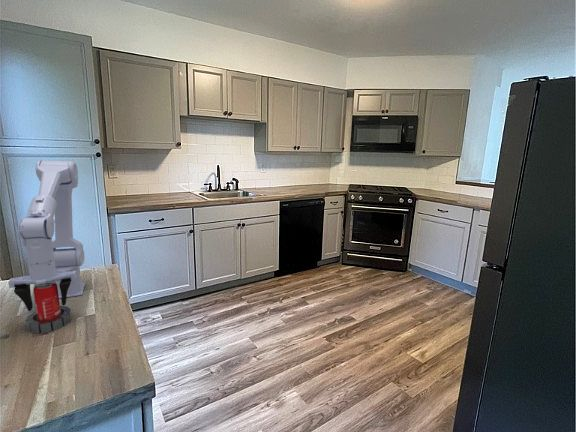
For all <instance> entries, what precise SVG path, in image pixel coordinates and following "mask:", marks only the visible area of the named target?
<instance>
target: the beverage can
mask: <svg viewBox="0 0 576 432" xmlns="http://www.w3.org/2000/svg"><path fill="white" fill-rule="evenodd" d="M32 291H33V296H34V303H35V308H36V309H35V310H36V311H37V318H38V321H39V322H43V321H49V320H53V319H55V318H58V317H60V316H61V311H60V306H61V303H60V298H59V295H58V288H57V284H56V282H55V281H52V282H46V283H43V284H34V286H33V290H32Z"/></svg>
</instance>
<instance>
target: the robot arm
mask: <svg viewBox="0 0 576 432" xmlns="http://www.w3.org/2000/svg"><path fill="white" fill-rule="evenodd" d="M35 174H36V177H37V178H38V180H39V189H38V195H36V196H33V197H32V199H31V202H30V204H29V208H28V210H27V213H26V216H25V217H24V218H23V219H21V220H20V221H19V223H18V228H17V230H18V232H17V233H18V235H19V238H20V240H21V243H22V246H23V247H25V253H26V254H25V255H26V260H27V266H28V275H23V276H18V277H17V276H16V277H12V278H10V279H9V280H8V281H7V282H8V287H9V289H11V288H12V289H14V290H13V292H14V294H15V295H16V296H17V297H18V298H20V300H21V301H22V302H23V304H24V305H25V308H26V309H27V312H29V311H32V310H33V306H34V305H33V304H34V303H33V299H32V294H31V285H36V284H43V283H46V282H52V281H55V282H56V284H57V288H58V295H59V299H61V306H66V304H67V298H69V297H70V298H71V297H77V296H82V295H84V289H85V286H86V285H85V282H82V278H81V277H82V276H81V275H82V274H81V269H80V268H81V267H82V265H83V264H84V263H85V251H84V245H83V243H82V242H81V241H79V240H77V239H75V238H74V237H73V236H74V231H73V229H74V228H73V199H72V198H73V197H72V194H73V189H75V188H77V187H78V184H79V170H78V166H77V163H76V162H75V161H74V160H70V161H69V160H42V159H41V160H40V159H39V160H38V161H37V162H36V163H35ZM53 236H55V237H54V239H53Z"/></svg>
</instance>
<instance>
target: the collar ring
mask: <svg viewBox="0 0 576 432" xmlns="http://www.w3.org/2000/svg"><path fill="white" fill-rule="evenodd" d="M60 311H61V316H60V317H58V318H55V319H53V320H49V321H43V322H39V321H38V318H37V311H34V312H32V313H30V314H29V315H27V316H26V318H25V328H26V330H27V331H28V332H29V333H31V334H43V333H49V332H53V331H56V330H59V329H60V328H63V327H65V326H66V325H68V324H69V323H70V322H71V321H72V309H71V308H70V307H68V306H67V305H60Z"/></svg>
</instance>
